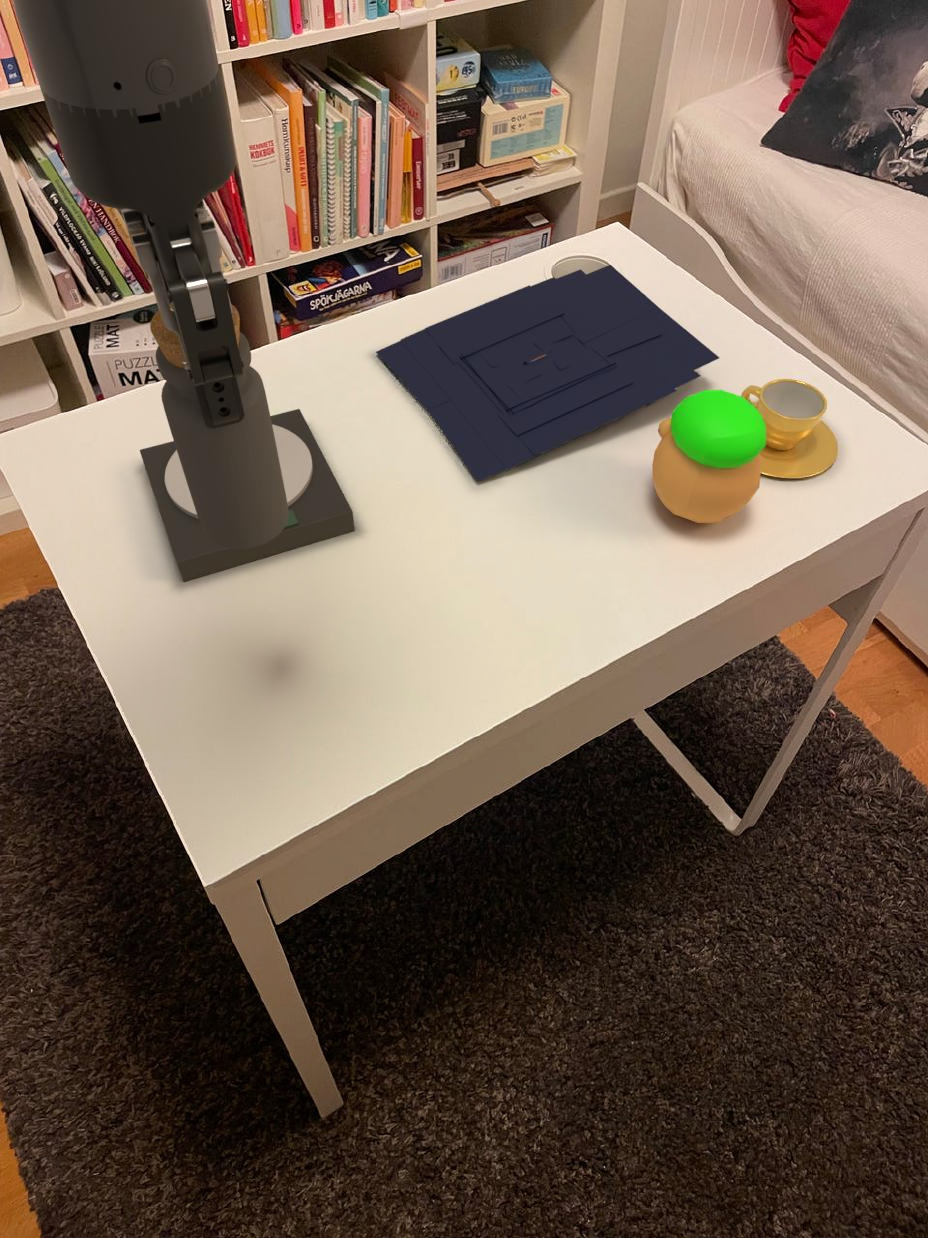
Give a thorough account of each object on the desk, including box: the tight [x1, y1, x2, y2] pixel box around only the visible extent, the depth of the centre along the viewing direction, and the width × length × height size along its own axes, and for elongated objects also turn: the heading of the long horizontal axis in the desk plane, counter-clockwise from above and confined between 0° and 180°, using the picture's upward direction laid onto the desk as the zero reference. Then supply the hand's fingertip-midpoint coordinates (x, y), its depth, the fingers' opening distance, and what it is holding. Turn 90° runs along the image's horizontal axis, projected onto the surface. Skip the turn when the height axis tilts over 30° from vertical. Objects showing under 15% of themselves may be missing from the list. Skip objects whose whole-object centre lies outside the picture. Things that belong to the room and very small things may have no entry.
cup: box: [740, 378, 839, 479], centre depth 89 cm, size 12×12×5 cm
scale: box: [139, 408, 355, 582], centre depth 84 cm, size 16×16×3 cm
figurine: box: [651, 389, 766, 524], centre depth 81 cm, size 11×10×12 cm
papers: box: [375, 264, 720, 482], centre depth 97 cm, size 24×30×4 cm
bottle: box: [149, 303, 289, 549], centre depth 54 cm, size 6×6×15 cm
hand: (211, 387), depth 51 cm, fingers closed on bottle, 5 cm apart
